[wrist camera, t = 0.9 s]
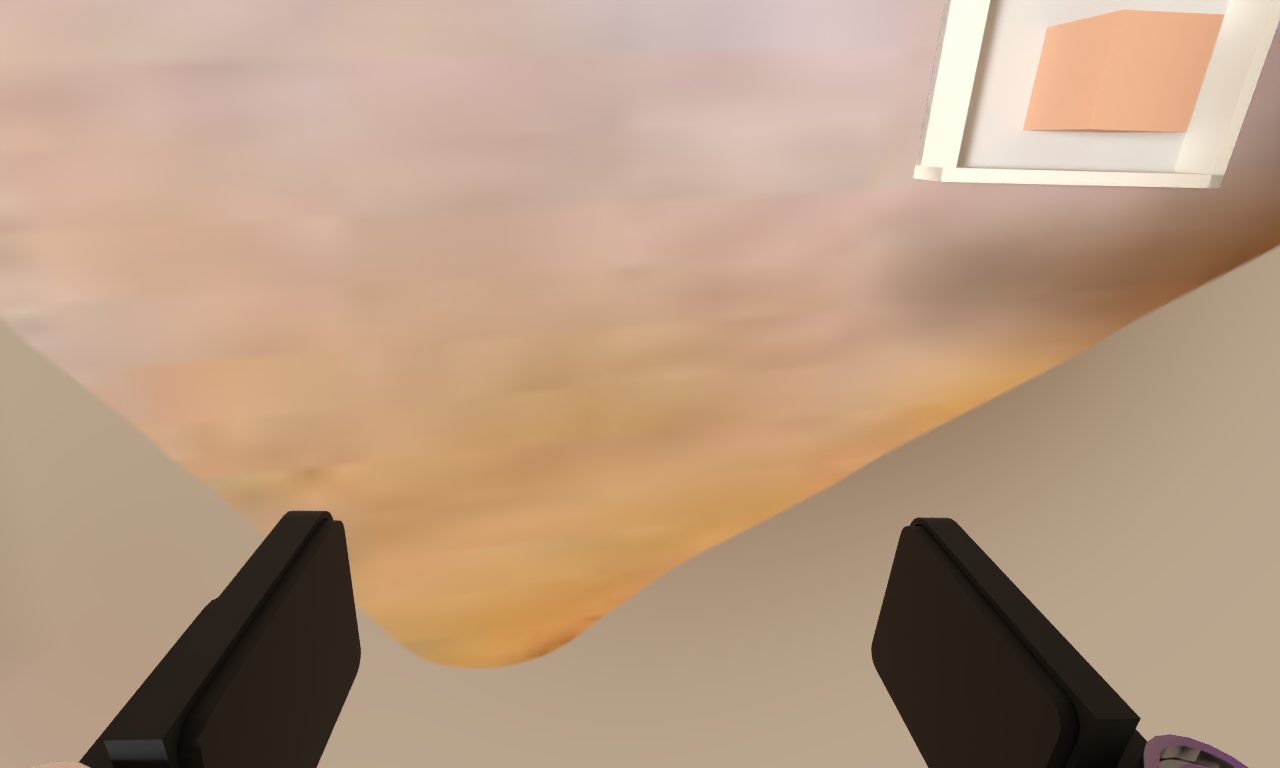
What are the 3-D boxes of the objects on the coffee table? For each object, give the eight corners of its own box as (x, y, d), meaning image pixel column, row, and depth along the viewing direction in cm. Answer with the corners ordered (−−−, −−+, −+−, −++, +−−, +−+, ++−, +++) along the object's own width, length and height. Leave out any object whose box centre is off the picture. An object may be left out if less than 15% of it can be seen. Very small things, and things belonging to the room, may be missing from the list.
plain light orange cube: (1047, 27, 33) (1122, 9, 28) (1135, 31, 33) (1224, 14, 28) (1022, 130, 34) (1089, 129, 30) (1106, 132, 35) (1186, 132, 30)
